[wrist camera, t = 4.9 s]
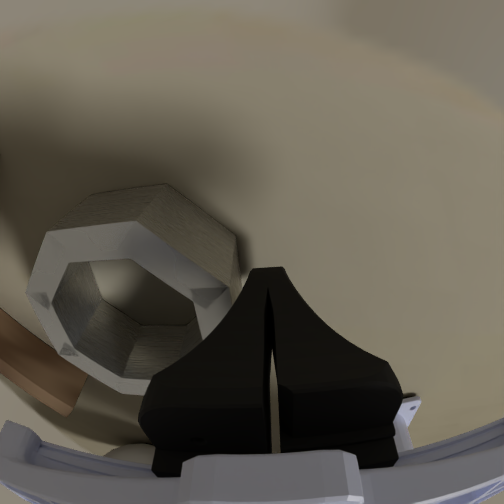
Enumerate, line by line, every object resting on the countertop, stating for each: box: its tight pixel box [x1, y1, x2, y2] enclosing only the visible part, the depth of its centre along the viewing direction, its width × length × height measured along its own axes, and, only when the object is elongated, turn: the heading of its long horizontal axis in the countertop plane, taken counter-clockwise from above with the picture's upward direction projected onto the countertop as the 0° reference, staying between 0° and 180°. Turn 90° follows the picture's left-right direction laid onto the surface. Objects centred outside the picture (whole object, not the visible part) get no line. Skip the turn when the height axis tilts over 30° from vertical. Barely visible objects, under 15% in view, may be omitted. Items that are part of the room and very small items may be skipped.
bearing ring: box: [26, 184, 242, 395], centre depth 12 cm, size 8×8×4 cm
